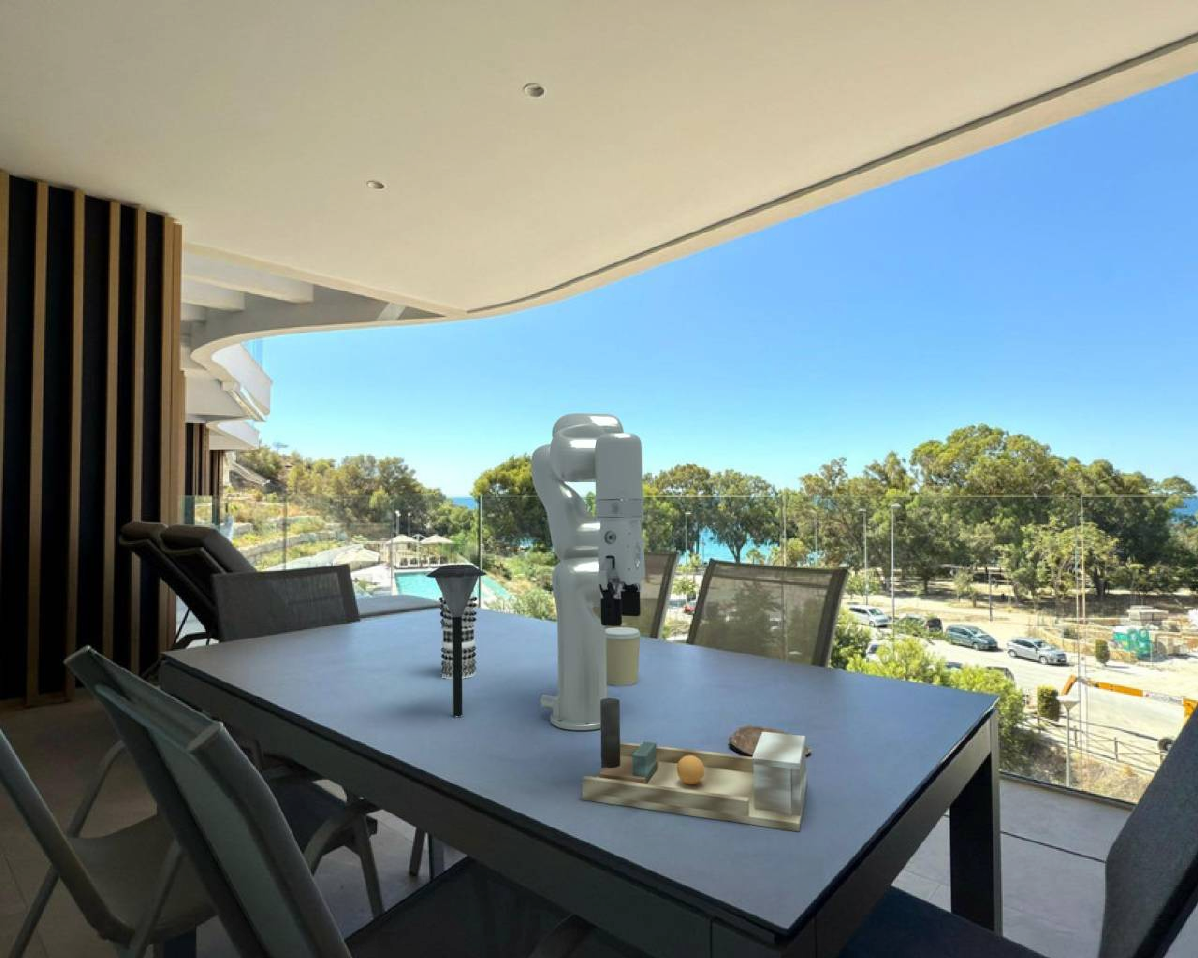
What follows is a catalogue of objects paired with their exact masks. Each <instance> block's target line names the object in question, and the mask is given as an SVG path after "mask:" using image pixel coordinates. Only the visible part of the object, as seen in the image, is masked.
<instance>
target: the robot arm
mask: <svg viewBox="0 0 1198 958" xmlns="http://www.w3.org/2000/svg"><path fill="white" fill-rule="evenodd" d="M551 433H552V435H551V436H552V439H551V442H550V443H548V444H543V445H541V446H539V447H537V448H536V449H534V451H533V453H532V454H531V455H532V456H531V459H530V471H531V479H532V483H533V486H534V490H535V491H536V495H538V498H539V500H540V502H541V503H542V505H543V507H544V509H545V512H546V515H547V522H548V527H549V533H550V536H551V537H550V539H551V543H552V547H553V550H554V553H555V555H556V557H557V558H558V560H560V562H559V563H557V564H556V565H555V566H554V569H553V570H552V575H551V582H552V591H553V595H554V602H555V611H556V626H557V627H556V628H557V629H556V630H557V637H556V639H557V691H558V692H557V694H555V696H553V695H549V694H548V695H547V694H542V695H541V697H540V699H539V701H540V707H541V708H544V709H545V708H546V709H551V710H553V711H552V713H551V714H550V716H549V719H550V720H549V721H550V723H551V724H552V725H553V726H555V727H557V728H560V729H563V730H570V731H593V730H598V729H600V700H601V699H605V698H608V696H607V695H608V694H607V692H608V690H607V689H608V688H607V687H608V686H607V685H608V684H607V678H606V630H605V629H606V627H605V626H609V627H610V626H611V627H621V626H622V625H623V617H640V616H641V612H642V609H641V594H642V584H643V583H642V581H643V580H644V579H645V577H646V565H645V564H646V563H645V551H644V550H645V549H644V548H645V547H644V537H643V529H642V521H644V487H643V486H644V484H643V483H644V482H643V481H644V480H643V445H642V439H641V438H640V436H639V435H637V434H634V433H627V432H624V427H623V424H622V423H621V421H620V419H619V417H617V416H615V415H613V414H609V413H581V412H580V413H579V412H578V413H569V414H565V415H563V416H561V417H559V418H558V419H557V420H556V421H555V423H554V425H553V427H552V431H551ZM565 482H566V483H567V482H569V483H595V516H593V515H589V514H588V511H587V506H586V502H585V501H584V499H583V498H582V496H581V495H580V494H579V493H578V492H577V491H576V490H575V489H574V488H572V487H571V486H570V485H569V484H566V483H565ZM597 607H600V617H599V616H598V615H597V614H596V613H595V611H594V609H593V608H597Z"/></svg>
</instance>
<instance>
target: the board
mask: <svg viewBox="0 0 1198 958" xmlns="http://www.w3.org/2000/svg"><path fill="white" fill-rule="evenodd" d="M641 744H642V743H636V742H635V743H633V742H626V741H625V742H624V741H620V755H621V756H629V757H632V755H633V754H634V752H635V751H636V750H637V749H638V748H639V747H640V745H641ZM805 747H806V736H805V735H797V734H789V733H788V734H780V733H770V732H762V733H761V736H760V739H759V741H758V744H757V746H756V749H755V752H754V754H753V757H749V756H744V755H741V754H740V755H739V754H731V753H730V754H729V753H723V752H721V753H720V752H713V751H706V750H705V751H704V750H696V749H685V748H680V747H679V748H678V747H671V746H670V747H669V746H661V745H656V749H657V760H658V766H659V767H658V768H657V769H656V771H655V772H654V773H653V775H652V776H651V778H650V779H649V780H648V782H647V783H646V784H642V783H635V782H628V781H620V780H613V779H605V778H599V774H598V775H597V776H590V775H584V776H583V777H582V779H581V781H582V800H583V801H584V800H585V801H590V802H597V803H598V802H599V803H603V804H612V805H618V806H622V807H623V806H624V807H631V808H637V809H638V808H639V809H645V810H652V811H656V812H657V811H658V812H663V813H664V812H665V813H671V814H677V815H678V814H679V815H685V816H691V817H692V816H693V817H699V818H706V819H711V820H712V819H713V820H719V821H727V822H732V823H738V824H739V823H740V824H745V825H753V826H759V827H766V828H772V829H779V830H780V829H781V830H787V831H793V832H800V831H801V830H800V829H801V823H802V819H803V818H802V817H803V811H804V805H805V800H806V793H807V787H808V776H807V767H806V765H807V764H806V757H805ZM687 755H693V756H696V757H697V758H699V759H700V760H701V762H702V764H703V766H704V775H703V777H702V779H701V780H700V781H699V782H698V783H696V784H692V785H690V784H686V783H684V782H683V781H682V780H681V779H680V778H679V776H678V773H677V765H678V762H679V761H680V759H681V758H683V757H684V756H687Z"/></svg>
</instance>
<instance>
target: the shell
mask: <svg viewBox="0 0 1198 958" xmlns="http://www.w3.org/2000/svg"><path fill="white" fill-rule="evenodd" d="M762 732H770V733H780V734H789V733H787V732H784V731H781V730H778V729H775V728H771V727H768V726H766V727H765V726H763V727H761V726H757V725H751V724H749V725H746V726H745V725H744V726H741V727H739V728H738V729H737V730H736V731H734V733H733V734H732V735H731V736H730V737H729V738H728V742H729V743H728V745H729V748H730V749H732V750H733V751H734V752H736V753H740V755H741V756H749V757H753V754H754V752H755V749H756V746H757V744H758V741H759V739H760V736H761V733H762ZM810 753H812V750H811V748H809V747H807V746H805V758H806V757H808V756H809V754H810Z"/></svg>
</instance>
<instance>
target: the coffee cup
mask: <svg viewBox="0 0 1198 958" xmlns="http://www.w3.org/2000/svg"><path fill="white" fill-rule="evenodd" d="M605 630H606V678H607V685H610V686H619V687H625V686H632V685H635V684H637V683H638V680H639V667H640V664H639V663H640V645H641V632H640V630H639V629H638V628H635V627H627V626H626V627H625V626H613V627H609V628H605Z"/></svg>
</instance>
